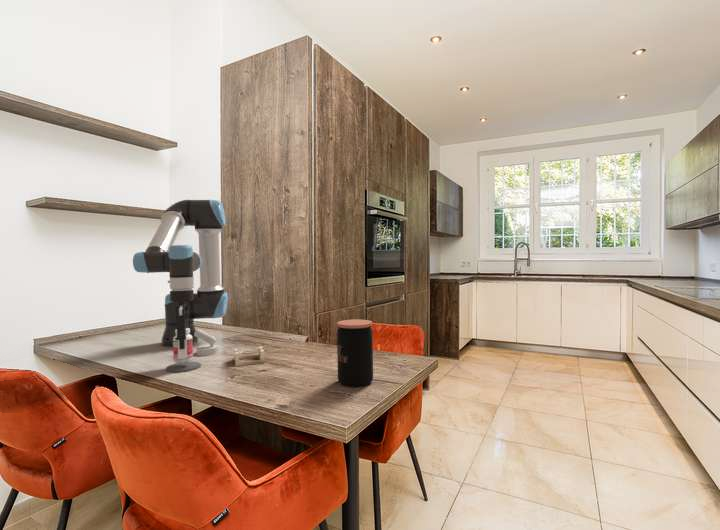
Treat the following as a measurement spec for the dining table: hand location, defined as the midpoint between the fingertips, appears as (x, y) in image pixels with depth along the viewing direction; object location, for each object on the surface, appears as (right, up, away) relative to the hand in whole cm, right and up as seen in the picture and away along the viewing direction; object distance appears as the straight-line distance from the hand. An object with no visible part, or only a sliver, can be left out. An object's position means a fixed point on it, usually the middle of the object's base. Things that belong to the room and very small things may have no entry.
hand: (183, 355), depth 133 cm
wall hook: (0, -4, +21) cm, 22 cm away
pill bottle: (0, -2, 0) cm, 2 cm away
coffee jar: (+60, -4, -18) cm, 63 cm away
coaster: (0, -4, 0) cm, 4 cm away
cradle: (+21, -4, +8) cm, 22 cm away
